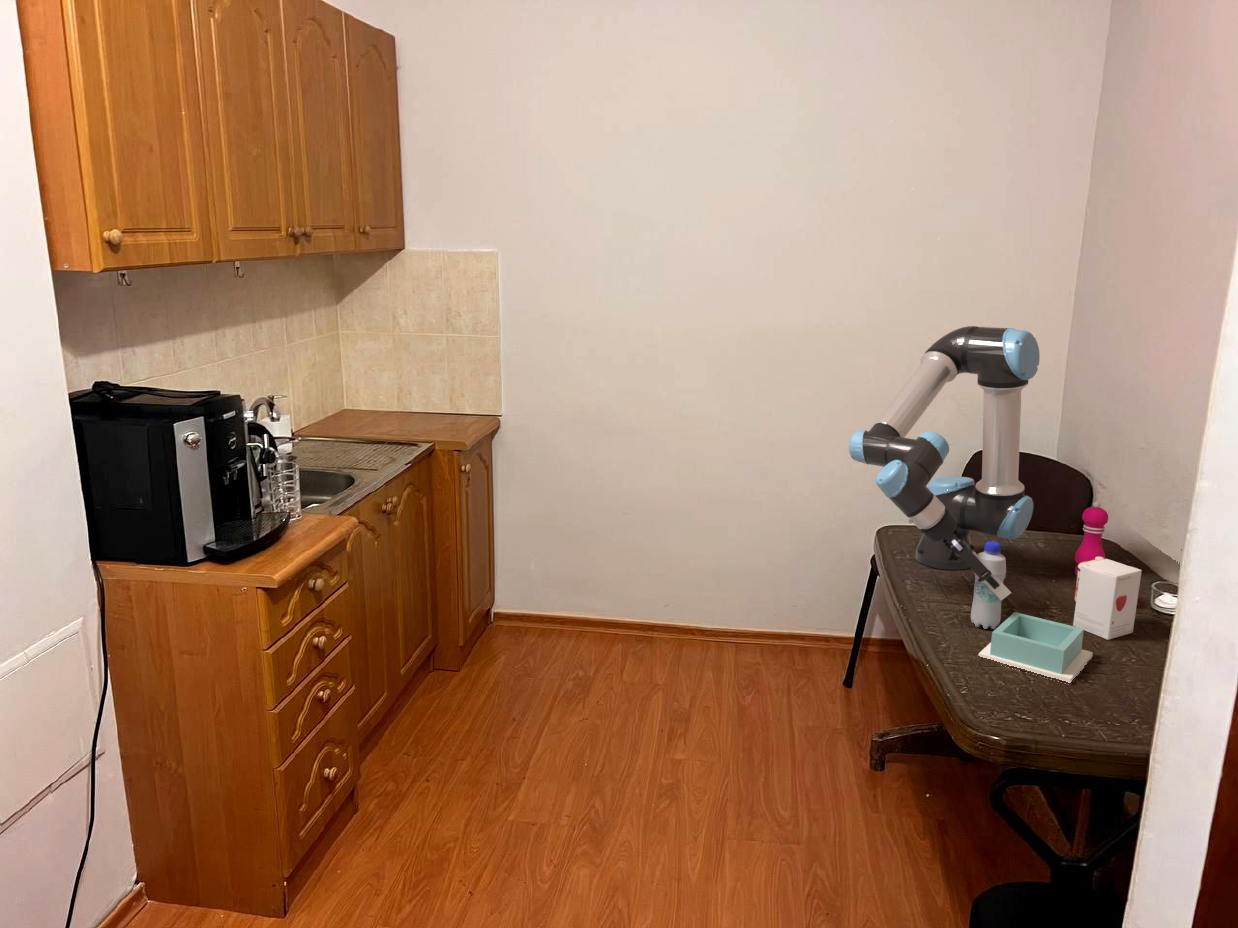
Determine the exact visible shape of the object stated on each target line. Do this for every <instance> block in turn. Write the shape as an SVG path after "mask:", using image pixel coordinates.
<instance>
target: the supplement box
mask: <svg viewBox="0 0 1238 928" xmlns="http://www.w3.org/2000/svg"><path fill="white" fill-rule="evenodd" d="M1142 571H1143V570H1142V569H1139V568H1137V567H1134V566H1129V565H1126V564H1124V563H1121V562H1117V561H1115V560H1111V559H1108V558H1106V559H1103V560H1099V561H1093V562H1090V563H1086V564H1082V565H1081V570H1080V577H1079V585H1078V592H1077V600H1076V601H1075V609H1074V615H1073V623H1072V626H1074V627H1078V628H1082V629H1084V632H1088V633H1090V634H1092V635H1094V636H1098V637H1100V638H1102V639H1105V640H1108V641H1109V640H1112V639H1115V638H1119V637H1122V636H1125V635H1129V634H1133V633H1134V625H1135V621H1136V620H1135V619H1136V611H1137V605H1138V598H1139V591H1140V585H1141V579H1142V577H1141V576H1142Z"/></svg>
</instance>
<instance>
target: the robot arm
mask: <svg viewBox="0 0 1238 928" xmlns="http://www.w3.org/2000/svg"><path fill="white" fill-rule="evenodd" d="M1040 355H1041V354H1040V347H1039V343H1038V341H1037V338H1036V337H1034V335H1033V334H1032V333H1031V332H1029V331H1028V330H1025V329H1016V328H1014V327H1011V328H1009V327H1008V328H1007V327H1006V328H1005V327H990V326H989V327H988V326H975V325H971V326H970V325H969V326H967V325H966V326H962V327H959V328H957V329H954V330H952V331H951V332H948V333H947V334H944V335H943V336H942V337H940V338H939V339H938V340H936V341H935V342H934V343H933V344H931V346H930V347H929V348H928V349H927V350H926V351H925V352H924V353H923V354H922V356H921V358H920V361H919V362H920V365H919V366H918V368H917V369H916V370H915V372H914V373H913V374H912V375H911V377H910V378H909V379H908V381H907V382H906V383H905V384H904V385H903V387H902V388H901V390H900V391H899V393H898V394H897V395H896V396H895V397H894V399H893V400H892V402H891V403H890V404H889V405H888V406H887V407H886V409H885V410H884V412H883V413H882V414H881V416H880V417H879V418H878V419H877V421H876V422H875V424H873V425H872V427H871V428H870V430H858V431H855V432H854V433H853V434H852V435H851V437H850V440H849V443H848V453H849V454H850V457H851V459H852V460H854V461H856V462H858V463H862V464H864V465H865V464H866V465H872V466H878V467H883V468H882V469H880V471H879V472H878V473H877V474H876V477H875V483H876V485H877V487H878V488H879V490H880V491H882V493H883V494H884V495H885V497H887V498H888V499H889V500H890V501H891V502H892V503H893V504H894V505H895V506H896V507H897V508H898V509H899V510H900V511H901V512H902V513H903V514H904V515H905V516H906V517H907V518H908V524H910V525H911V524H913V525H915V526H916V527H917V528H918V529H919V530H920V531H921V533H922V535H921V538H920V540H919V543H918V544H917V547H916V549H915V558H914V559H915V560H916V561H917V562H918V563H920V564H922V565H924V566H926V567H931V568H934V569H940V570H950V571H951V570H952V571H953V570H954V571H959V570H966V569H969V568H970V570H971V571H972V572H973V573H974V572H975V573H976V574H977V576H978V577H979V579H978V581H979V582H981V581H983V582H984V583H985V584H986V585H987V586H988V587H989V588H990V589H991V590H992V591H993V592H994V594H995V595H996V596H997V597H998V598H999V599H1000V600H1001V602H1002V601H1003V600H1004V599H1005V598H1007V597H1008V596H1010V594H1012V592H1011V591H1010V589H1008V587H1007V586H1006V585H1005V584H1004V582H1003V583H1002V582H1001V581H1000V580H999V579H998V578H997V577H996V576H995V575H994V574H993V573H992V572H991V571H990V570H988V569H987V568H986V567H985V566H984V565H983V563H982V562H981V561H980V560H979V559H978V558H977V555H978V553H976V551H975V550H974V549H975V547H974V545H972V541H971V538H970V537H971V536H970V534H971V532H970V531H973V532H977V533H979V534H984V535H985V534H986V535H988V536H989V535H990V536H994V537H996V538H1000V539H1001V538H1003V539H1008V540H1015V539H1017V538H1019V537H1021V536H1022V535H1023V534H1024V532H1025V531H1026V529H1027V528H1028V527H1029V523H1030V521H1031V519H1032V516H1033V512H1034V500H1033V498H1032V497H1031V496H1028V495H1025V485H1024V483H1022V482H1021V481H1020V480H1019V469H1020V468H1019V467H1020V466H1019V465H1020V443H1021V442H1020V441H1021V439H1020V437H1021V411H1022V410H1021V409H1022V404H1021V403H1022V391H1023V389H1024V388H1025V387H1027V386H1028V385H1029V381H1030V380H1031V379H1033V378H1034V376H1035V375H1036V374H1037V372H1038V366H1039V364H1040ZM966 373H967V374H972V375H977V385H978V386H979V387H980V388H981V389H982V390H983V411H982V416H983V417H982V460H981V461H982V462H981V464H982V465H981V479H980V480H979V481H977V482H976V483H975V480H974V479H973V478H972V477H968V476H944V477H937V478H935V479H932V478H933V477H934V475H935V474H936V473H937V472H938V470H939V469H940V467H941V466H942V465H943V464H944V462H945V461H944V460H946V458H947V456H948V454H949V453H950V452H949V451H950V446H949V443H948V440H947V439H946V438H945V437H944V436H942V435H941V434H939V433H938V432H935V431H930V430H929V431H925V432H924V431H923V432H922V433H920V435H919V436H917V438H916V439H913V438H910V437H909V438H908V437H906V436H907V435H908V434H909V432H910V431H911V430H912V429H913V427H914V426H915V424H916V423H917V422H918V421H919V420H920V418H921V417H922V415H923V414H924V413H925V412H926V410H927V409H928V407H929V406H930V405H931V403H932V402H933V401H934V399H935V398H936V397H937V395H938V394H939V393H940V392H941V390H942V388H943V387H944V386H945V385H946V384H947V383H950V382H952V381H954V380H955V379H956V377H957V376H958V375H960V374H966ZM931 479H932V480H931Z"/></svg>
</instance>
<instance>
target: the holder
mask: <svg viewBox="0 0 1238 928" xmlns="http://www.w3.org/2000/svg"><path fill="white" fill-rule="evenodd" d="M1084 632H1085V630H1084V629H1082V628H1078V627H1075V626H1073V625H1069V624H1066V623H1060V622H1058V621H1057V622H1056V621H1054V620H1049V619H1044V618H1040V617H1036V616H1032V615H1028V614H1026V613H1025V614H1024V613H1021V612H1016V611H1015V612H1013V613H1012V614H1011V615H1010V616H1009V617H1007V618H1006V619H1005V620H1004V621H1003V622H1001V623H1000V624H999V625H998V626H997V627H996V628H995V629H993V631H992V632H991V639H990V642H989V643H988V644H987V645H986V646H985V647H984V648H982V650H981V651H980V652H979V653H978V655H977V656H980V657H983V658H987V659H991V660H994V661H997V662H1000V663H1003V664H1007V665H1009V666H1014V667H1017V668H1021V669H1025V670H1027V671H1031V672H1034V673H1037V674H1041V675H1044V676H1047V677H1051V678H1056V679H1059V680H1062V681H1066V682H1068V683H1071V682H1072V680H1073V679H1074V678H1075V677H1076V676H1077V677H1078V676H1079V674H1080V673H1081V672H1082V671H1083V669H1084V668H1085V667H1086V666H1085V665H1087V664H1088V663H1089V662H1090V661H1091V660H1092V658H1093V655H1094V652H1093V651H1090V650H1086V649H1083V648H1082V647H1083V639H1084V638H1083V637H1084ZM1089 660H1090V661H1089ZM1088 661H1089V662H1088ZM1087 662H1088V663H1087ZM1084 666H1085V667H1084ZM1080 671H1081V672H1080ZM1077 677H1076V678H1077ZM1076 678H1075V679H1076ZM1075 679H1074V680H1075ZM1074 680H1073V681H1074ZM1072 683H1073V682H1072ZM1072 683H1071V684H1072Z"/></svg>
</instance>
